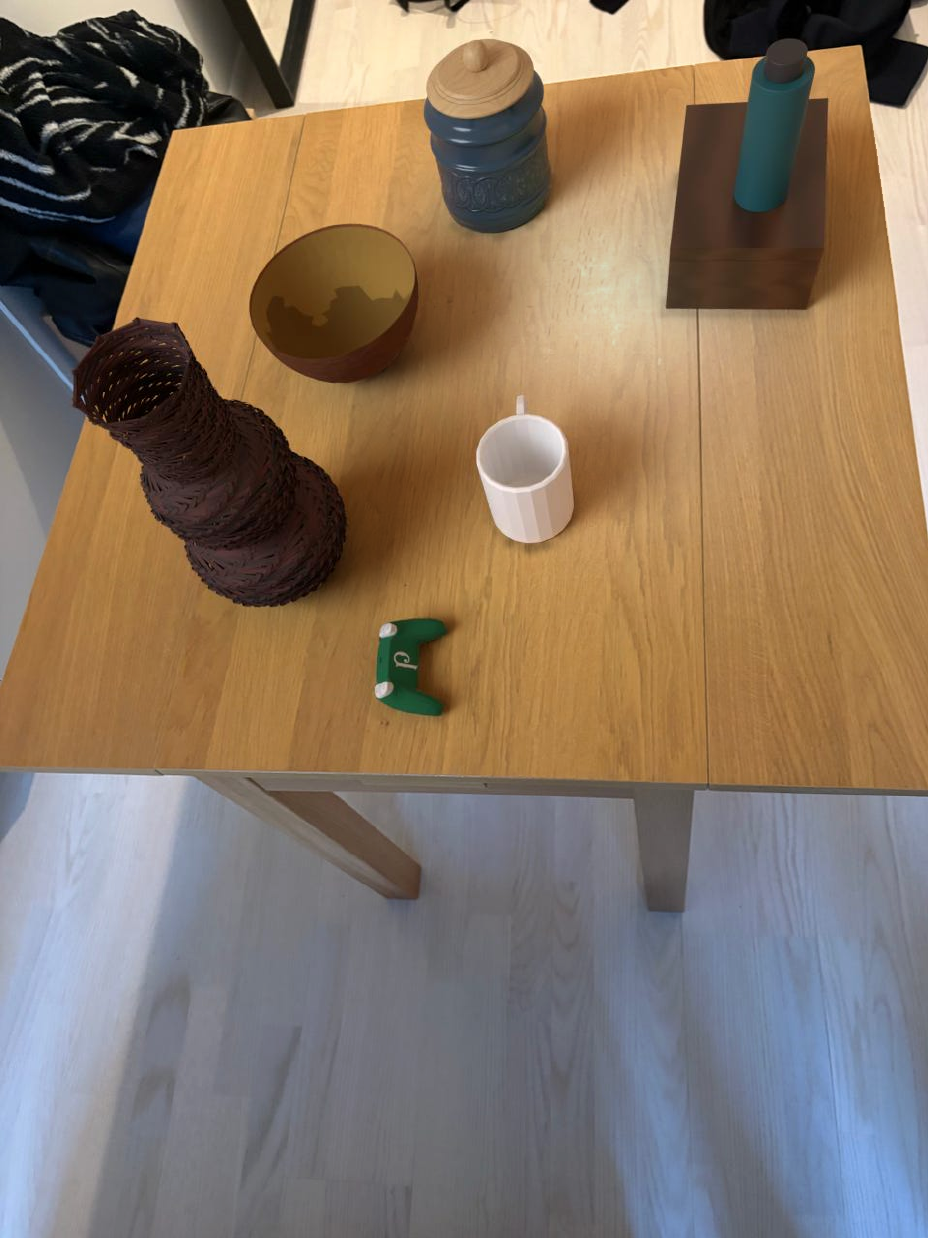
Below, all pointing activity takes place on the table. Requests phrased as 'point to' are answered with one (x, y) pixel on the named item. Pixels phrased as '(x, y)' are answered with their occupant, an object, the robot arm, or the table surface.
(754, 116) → the bottle
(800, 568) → the table surface
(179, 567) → the table surface
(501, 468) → the mug
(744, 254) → the wooden box
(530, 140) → the canister
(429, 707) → the gaming controller
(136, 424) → the vase
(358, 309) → the bowl
